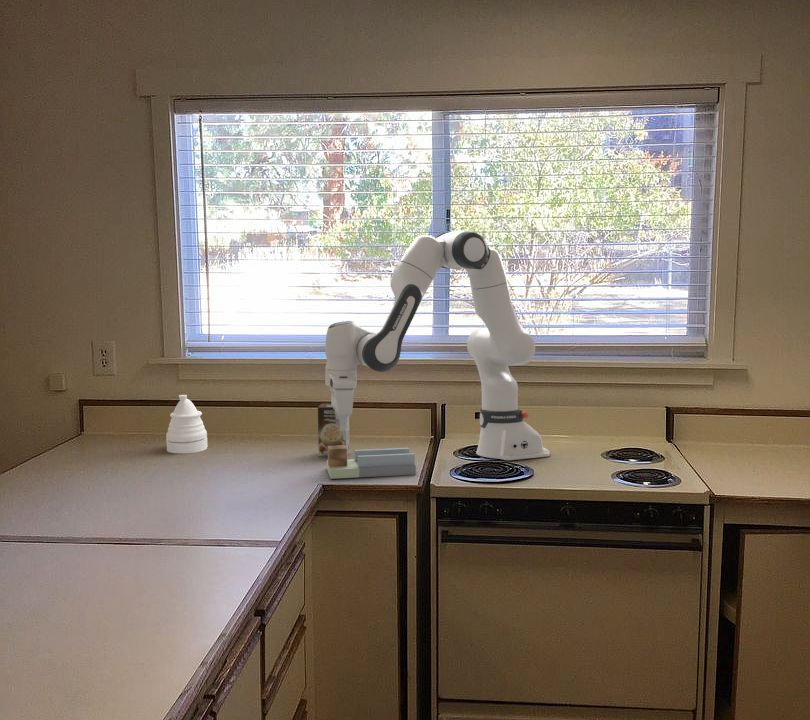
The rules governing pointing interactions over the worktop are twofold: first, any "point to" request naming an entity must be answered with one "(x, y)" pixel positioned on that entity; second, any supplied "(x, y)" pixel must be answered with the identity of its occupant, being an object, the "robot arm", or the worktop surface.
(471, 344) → the robot arm
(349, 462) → the channel
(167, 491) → the worktop surface
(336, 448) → the walnut block
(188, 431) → the honey pot
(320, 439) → the coffee box
